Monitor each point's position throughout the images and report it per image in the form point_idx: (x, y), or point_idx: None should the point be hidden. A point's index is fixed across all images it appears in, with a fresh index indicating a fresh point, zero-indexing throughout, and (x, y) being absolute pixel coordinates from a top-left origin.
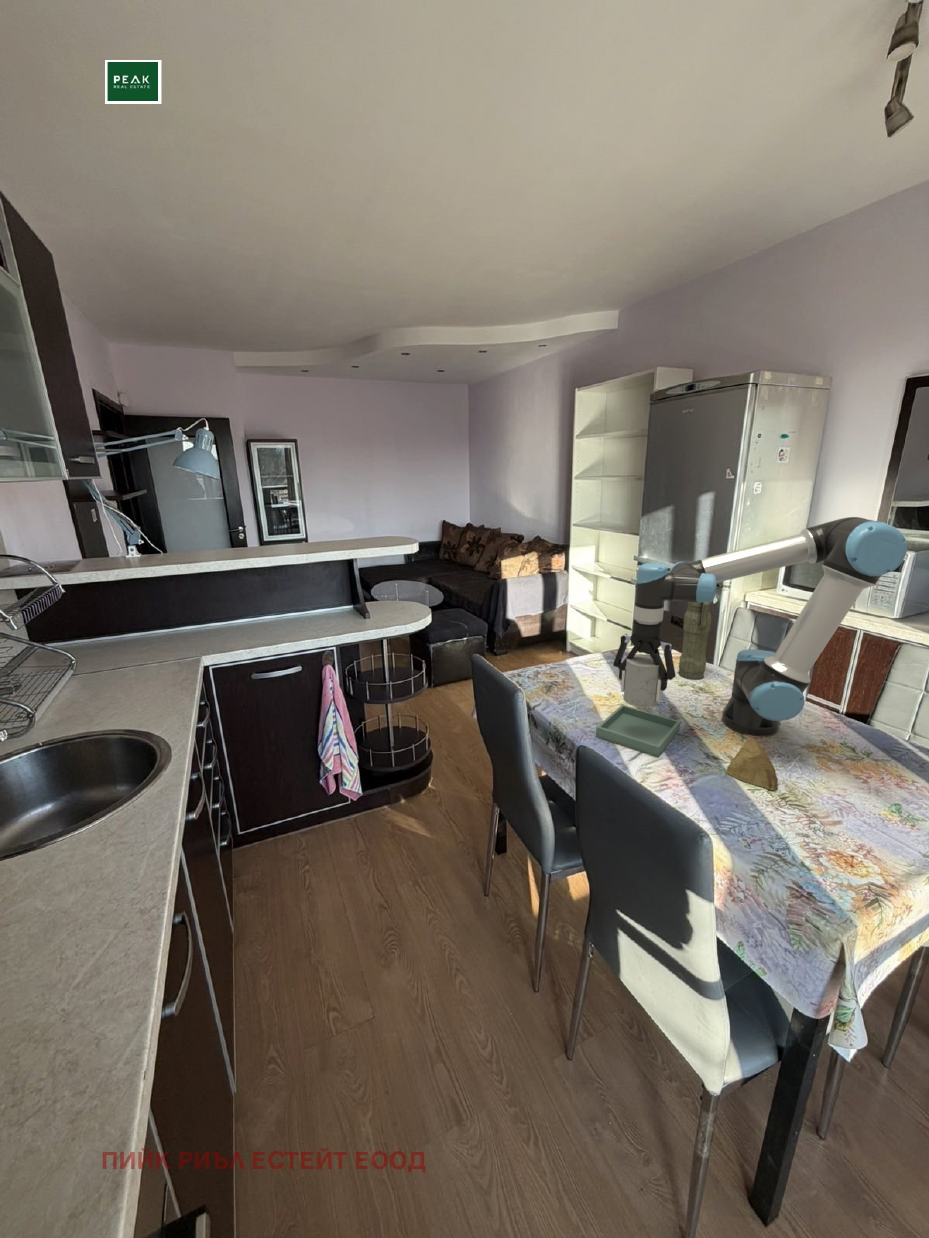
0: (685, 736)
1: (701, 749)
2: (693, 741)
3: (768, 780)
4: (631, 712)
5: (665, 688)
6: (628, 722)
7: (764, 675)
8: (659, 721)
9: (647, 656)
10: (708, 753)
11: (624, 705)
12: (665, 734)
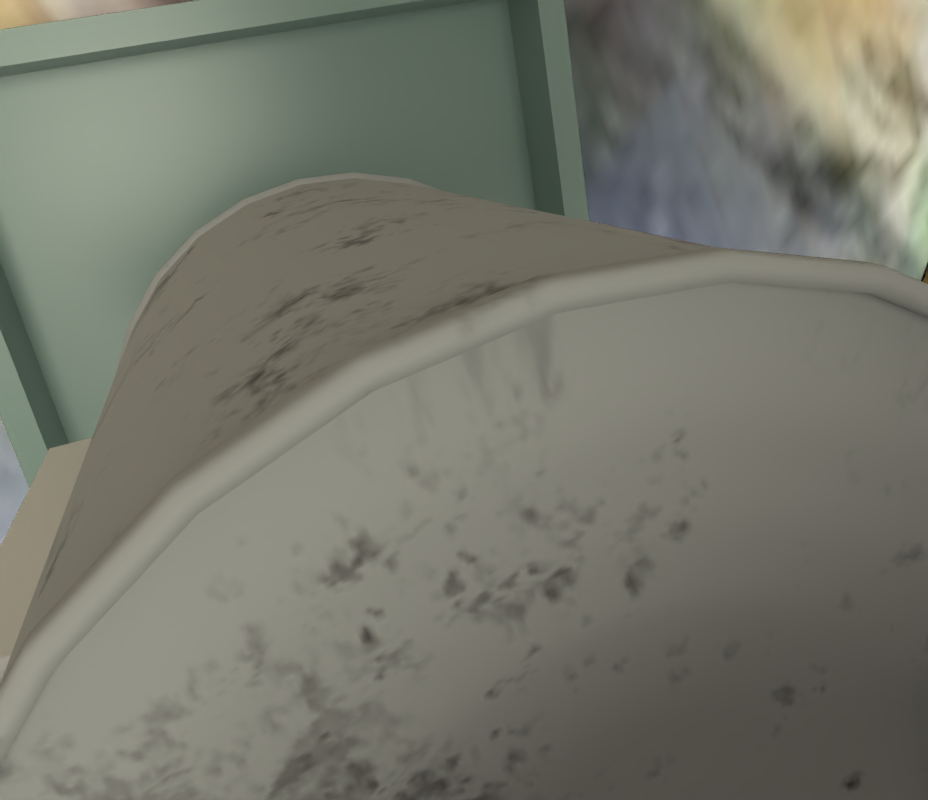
0: (590, 28)
1: (744, 134)
2: (664, 61)
3: None
4: (33, 68)
5: None
6: (135, 234)
7: None
8: (354, 18)
9: (512, 462)
10: (793, 150)
11: None
12: (490, 172)
